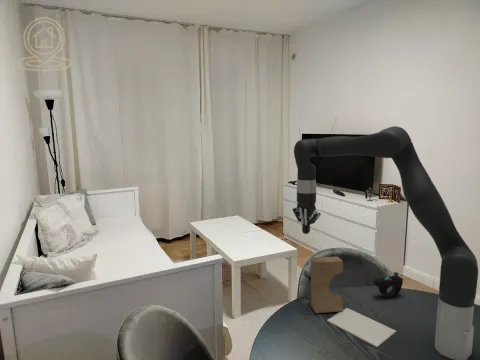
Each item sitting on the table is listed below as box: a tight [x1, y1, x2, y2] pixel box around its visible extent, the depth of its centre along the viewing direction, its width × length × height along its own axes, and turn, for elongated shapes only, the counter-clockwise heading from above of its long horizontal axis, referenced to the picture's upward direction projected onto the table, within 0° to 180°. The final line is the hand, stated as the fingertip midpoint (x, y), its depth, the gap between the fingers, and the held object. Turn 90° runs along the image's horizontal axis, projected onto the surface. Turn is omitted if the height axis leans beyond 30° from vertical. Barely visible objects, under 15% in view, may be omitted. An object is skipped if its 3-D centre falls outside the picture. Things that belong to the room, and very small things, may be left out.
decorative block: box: [310, 256, 344, 314], centre depth 131 cm, size 11×6×20 cm, turn 93°
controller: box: [372, 271, 404, 299], centre depth 140 cm, size 4×12×10 cm, turn 102°
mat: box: [326, 307, 397, 348], centre depth 121 cm, size 20×12×1 cm, turn 39°
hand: (305, 233), depth 136 cm, fingers closed
